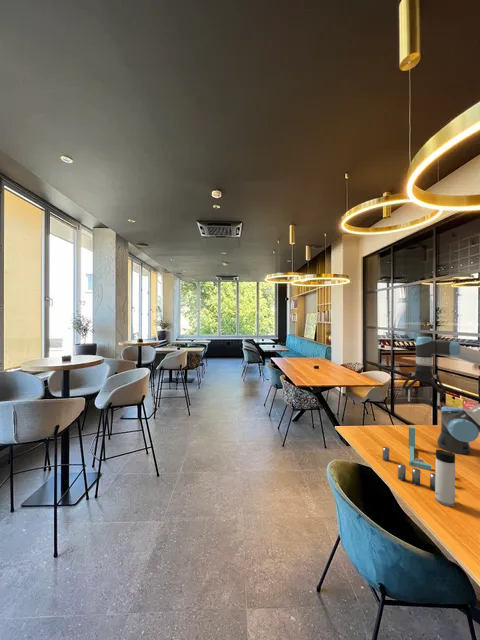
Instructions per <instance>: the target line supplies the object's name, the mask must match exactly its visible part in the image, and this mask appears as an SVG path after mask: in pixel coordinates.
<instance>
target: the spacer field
mask: <svg viewBox="0 0 480 640" xmlns="http://www.w3.org/2000/svg"><path fill="white" fill-rule="evenodd" d="M382 461H384V462H389V461H390V447H387V446H383V447H382ZM406 468H407V467H406V465H404V464H402V463H399V464H397V479H398V480H399V481H402V482H406V479H407V477H406V475H407V473H406V472H407V469H406ZM411 475H412V477H411V483H412V484H413V485H415V486H417V487H418V486H420V485H421V470H420V468H418V467H414V468H412V470H411ZM429 489H430V490H432V491H433V492H435V473H434V472H430V473H429Z"/></svg>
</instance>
